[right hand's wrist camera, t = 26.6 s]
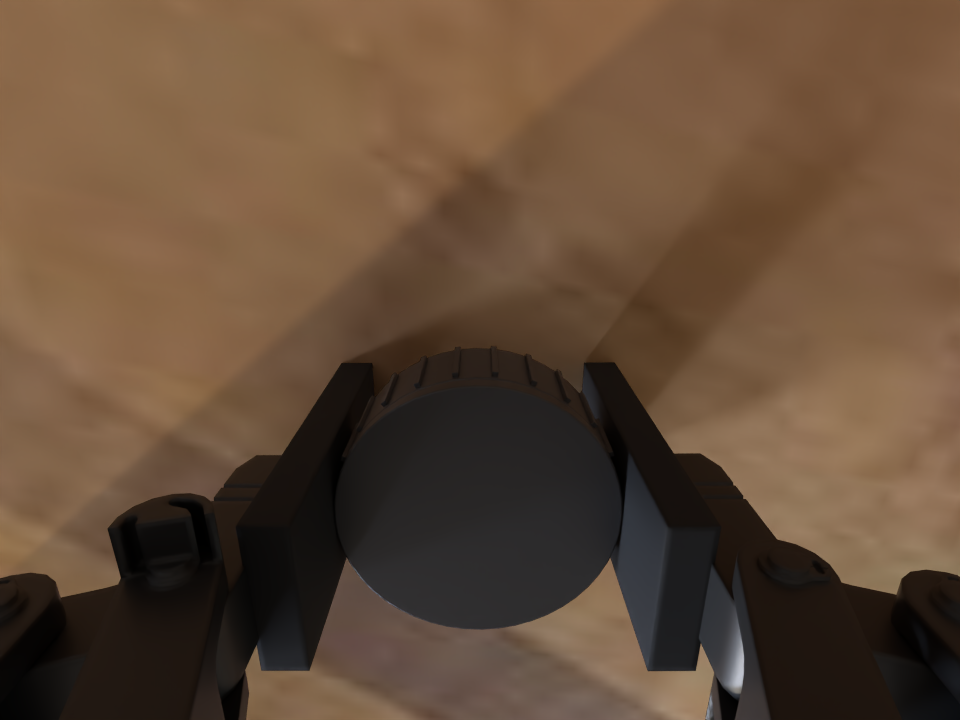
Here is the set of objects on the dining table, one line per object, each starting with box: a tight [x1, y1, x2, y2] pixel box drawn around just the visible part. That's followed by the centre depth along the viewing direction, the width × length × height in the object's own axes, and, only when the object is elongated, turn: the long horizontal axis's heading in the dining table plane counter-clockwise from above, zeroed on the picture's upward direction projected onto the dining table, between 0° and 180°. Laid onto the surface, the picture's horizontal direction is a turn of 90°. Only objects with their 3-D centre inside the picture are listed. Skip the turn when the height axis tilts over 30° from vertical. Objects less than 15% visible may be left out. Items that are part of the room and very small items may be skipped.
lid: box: [334, 346, 623, 629], centre depth 11 cm, size 5×5×2 cm
